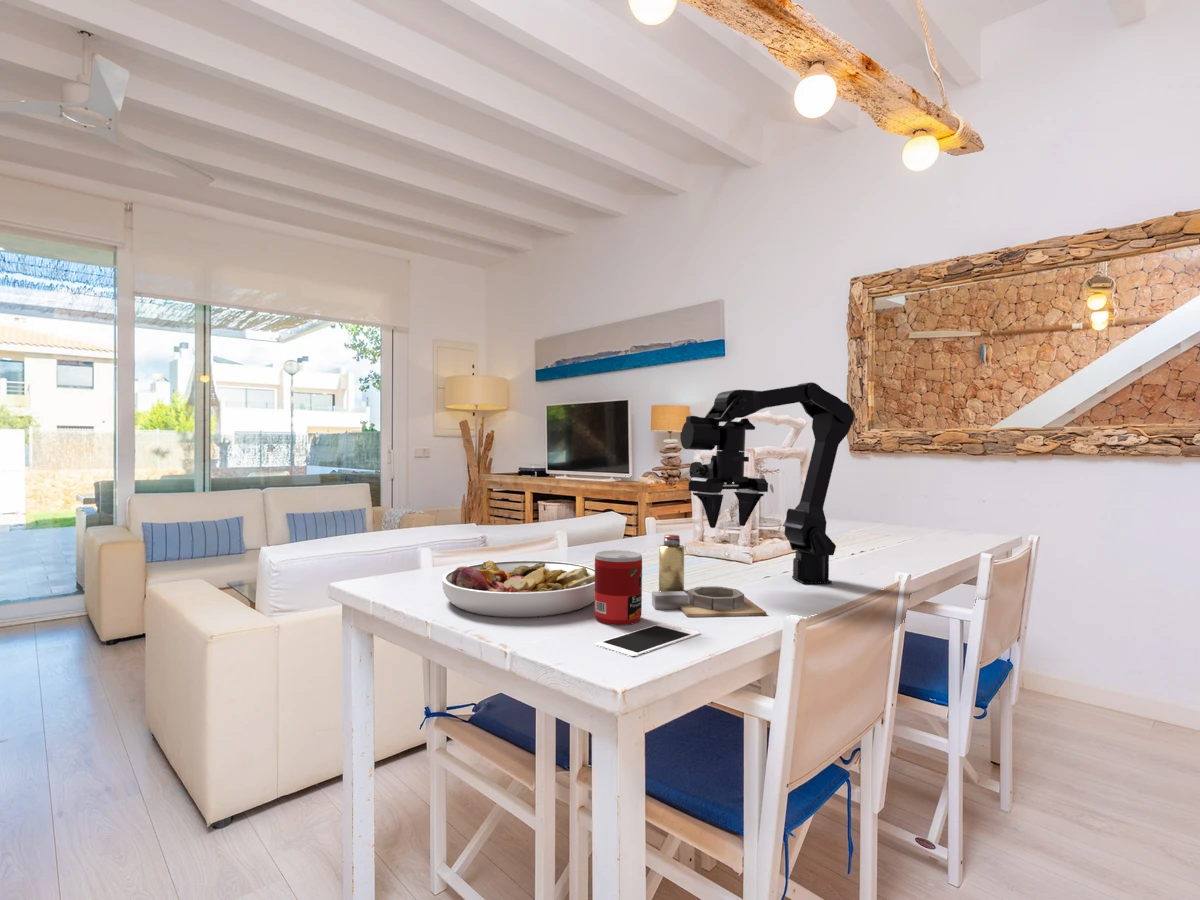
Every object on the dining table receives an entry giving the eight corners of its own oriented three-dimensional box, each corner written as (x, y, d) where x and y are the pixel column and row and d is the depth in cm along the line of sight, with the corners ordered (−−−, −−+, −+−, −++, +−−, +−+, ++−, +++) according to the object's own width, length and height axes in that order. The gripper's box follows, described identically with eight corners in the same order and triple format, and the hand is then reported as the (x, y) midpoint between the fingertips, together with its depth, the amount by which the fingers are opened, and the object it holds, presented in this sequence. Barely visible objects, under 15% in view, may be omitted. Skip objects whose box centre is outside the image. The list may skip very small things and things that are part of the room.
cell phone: (701, 636, 101) (701, 632, 101) (633, 660, 90) (633, 655, 90) (662, 626, 107) (662, 622, 107) (593, 647, 95) (593, 643, 95)
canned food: (638, 627, 104) (638, 558, 104) (589, 623, 106) (590, 556, 106) (644, 614, 112) (645, 551, 112) (599, 611, 114) (599, 549, 113)
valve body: (680, 587, 133) (681, 533, 133) (686, 593, 128) (687, 537, 128) (656, 588, 133) (657, 534, 132) (661, 593, 128) (662, 537, 127)
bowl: (536, 577, 143) (536, 542, 143) (636, 602, 122) (637, 560, 122) (411, 599, 122) (412, 558, 122) (506, 634, 101) (507, 584, 101)
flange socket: (740, 596, 126) (740, 583, 126) (766, 615, 112) (766, 600, 112) (646, 597, 124) (646, 584, 124) (661, 617, 110) (661, 602, 110)
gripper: (730, 451, 146) (727, 520, 146) (670, 449, 134) (667, 524, 134) (770, 452, 137) (768, 526, 137) (711, 450, 126) (708, 530, 126)
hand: (727, 526), depth 134 cm, fingers open, 9 cm apart
